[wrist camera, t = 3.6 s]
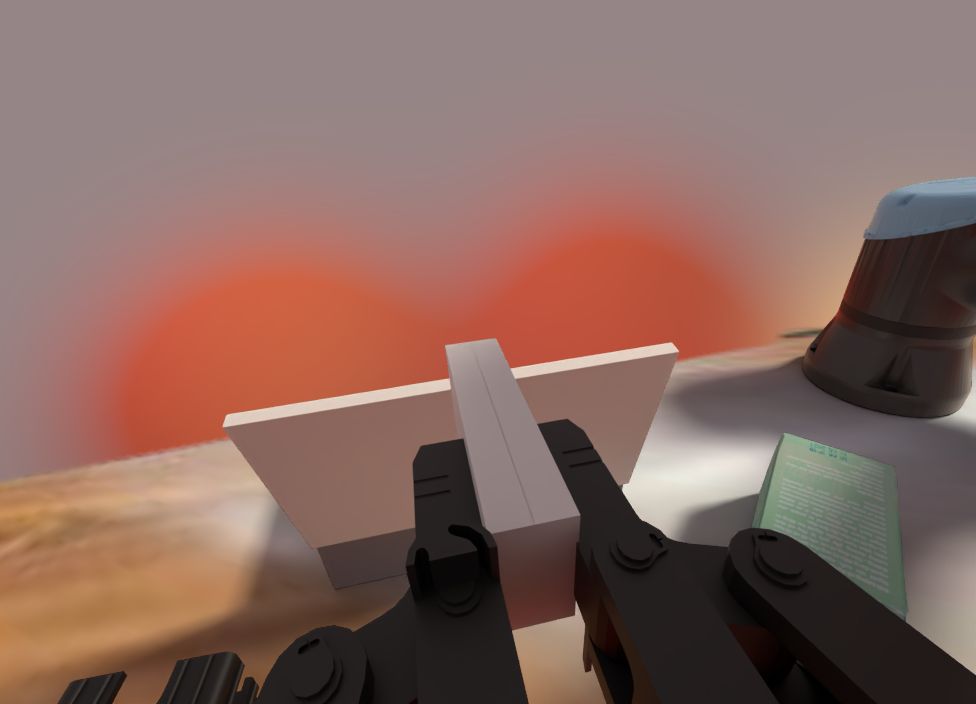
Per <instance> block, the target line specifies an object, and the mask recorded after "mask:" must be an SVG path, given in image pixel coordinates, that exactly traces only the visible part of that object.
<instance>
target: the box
mask: <svg viewBox="0 0 976 704" xmlns="http://www.w3.org/2000/svg"><path fill="white" fill-rule="evenodd" d="M751 528H763V529H771V530H774V531H777V532H780V533H783V534H785V535H788V536H790V537H792V538H793V539H795V540H797V541H798V542H800V543H802V544H803V545H805V546H807V547H808V548H809V549H811V550H812V551H813V552H814V553H816V554H817V555H818V556H820V557H821V558H822V559H824V560H825V561H826V562H828V563H829V564H830V565H832V566H833V567H834V568H835V569H837V570H838V571H839V572H841V573H842V574H843V575H845V576H846V577H847V578H849V579H850V580H851V581H853V582H854V583H855V584H856V585H858V586H859V587H860V588H862V589H863V590H864V591H866V592H867V593H868V594H870V595H871V596H872V597H874V598H875V599H876V600H877V601H879V602H880V603H881V604H883V605H884V606H885V607H887V608H888V609H889V610H891V611H892V612H893V613H895V614H896V615H897V616H899V617H900V618H901V619H902V620H904V621H905V618H906V614H907V611H908V606H907V600H906V591H905V582H904V572H903V561H902V549H901V534H900V520H899V504H898V488H897V478H896V472H895V468H894V466H891V465H888V464H885V463H882V462H879V461H875V460H872V459H869V458H866V457H863V456H859V455H856V454H853V453H850V452H847V451H843V450H840V449H837V448H834V447H831V446H827V445H824V444H821V443H818V442H815V441H811V440H808V439H805V438H802V437H799V436H796V435H793V434H789V433H783V435H782V437H781V439H780V441H779V443H778V445H777V447H776V450H775V452H774V454H773V457H772V460H771V462H770V465H769V468H768V470H767V473H766V476H765V479H764V482H763V484H762V487H761V490H760V494H759V498H758V502H757V506H756V510H755V514H754V518H753V522H752V527H751Z"/></svg>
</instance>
